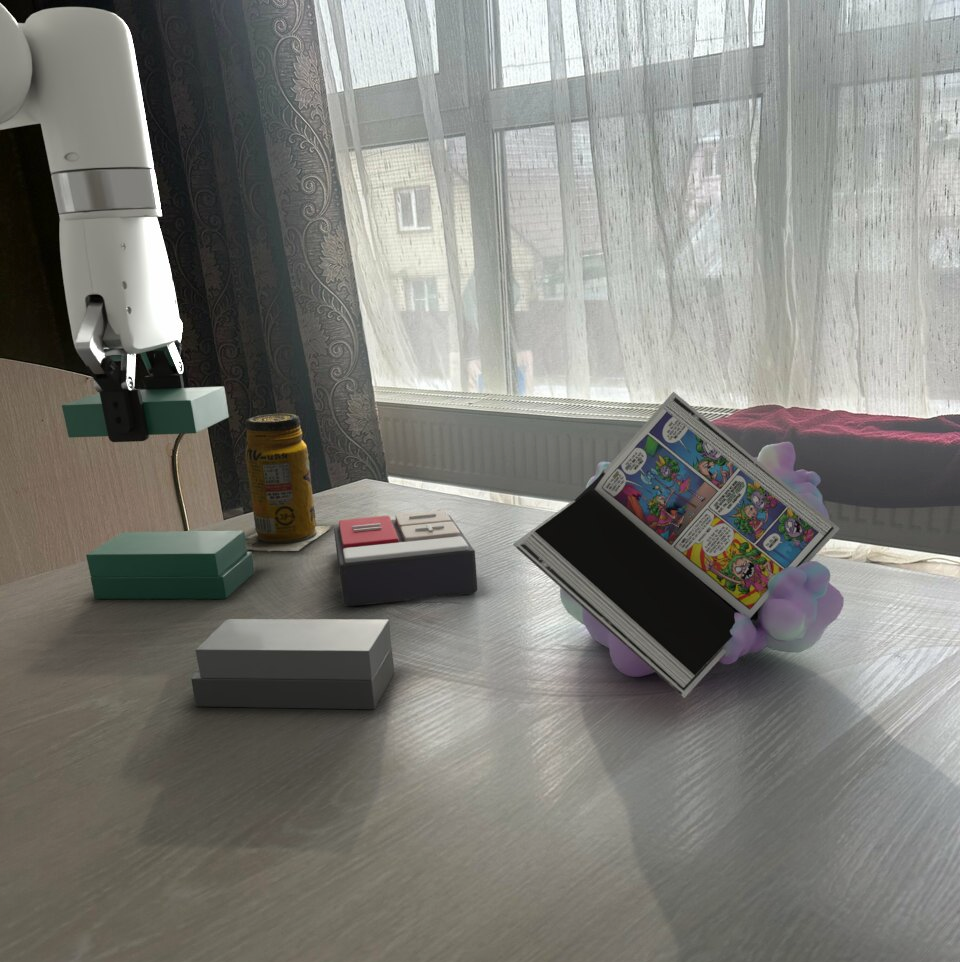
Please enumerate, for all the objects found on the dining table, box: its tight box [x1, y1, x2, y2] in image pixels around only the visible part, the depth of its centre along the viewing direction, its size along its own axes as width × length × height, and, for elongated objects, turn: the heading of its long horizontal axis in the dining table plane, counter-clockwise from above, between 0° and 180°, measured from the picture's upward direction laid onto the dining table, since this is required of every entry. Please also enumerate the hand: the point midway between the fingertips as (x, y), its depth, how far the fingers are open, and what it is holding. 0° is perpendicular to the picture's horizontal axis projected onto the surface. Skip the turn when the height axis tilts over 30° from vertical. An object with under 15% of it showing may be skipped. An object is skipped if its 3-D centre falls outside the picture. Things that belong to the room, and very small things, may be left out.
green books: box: [85, 530, 256, 600], centre depth 88 cm, size 12×7×4 cm, turn 82°
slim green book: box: [61, 386, 230, 438], centre depth 83 cm, size 11×7×3 cm, turn 81°
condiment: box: [244, 413, 332, 553], centre depth 98 cm, size 7×8×12 cm
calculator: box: [333, 509, 478, 607], centre depth 88 cm, size 11×4×15 cm
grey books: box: [190, 618, 395, 710], centre depth 66 cm, size 12×6×4 cm, turn 82°
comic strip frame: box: [513, 391, 845, 699], centre depth 67 cm, size 20×22×18 cm
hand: (151, 429), depth 83 cm, fingers closed on slim green book, 7 cm apart
